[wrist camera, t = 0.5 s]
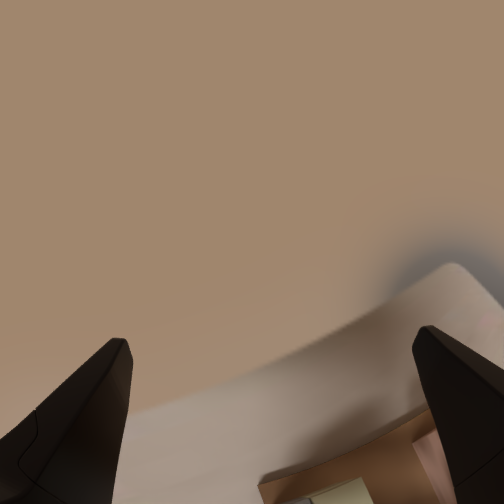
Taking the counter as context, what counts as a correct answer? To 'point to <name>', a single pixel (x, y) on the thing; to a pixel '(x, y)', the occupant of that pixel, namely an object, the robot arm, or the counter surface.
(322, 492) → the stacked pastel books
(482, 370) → the robot arm
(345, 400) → the counter surface
